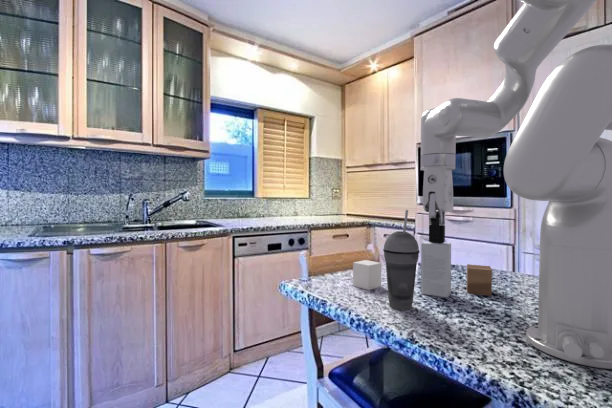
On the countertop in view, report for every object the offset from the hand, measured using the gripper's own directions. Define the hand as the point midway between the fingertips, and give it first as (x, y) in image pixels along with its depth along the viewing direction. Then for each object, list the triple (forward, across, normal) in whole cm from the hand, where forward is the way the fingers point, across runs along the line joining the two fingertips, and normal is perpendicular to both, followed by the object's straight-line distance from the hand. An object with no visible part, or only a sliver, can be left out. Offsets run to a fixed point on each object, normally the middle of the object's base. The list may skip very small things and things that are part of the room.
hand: (436, 242), depth 76 cm
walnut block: (+12, +8, -8) cm, 17 cm away
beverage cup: (+12, -14, +4) cm, 19 cm away
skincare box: (+12, 0, 0) cm, 12 cm away
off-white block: (+12, -3, +16) cm, 20 cm away
